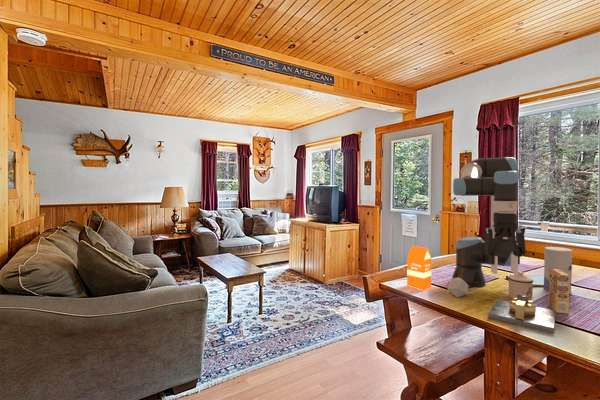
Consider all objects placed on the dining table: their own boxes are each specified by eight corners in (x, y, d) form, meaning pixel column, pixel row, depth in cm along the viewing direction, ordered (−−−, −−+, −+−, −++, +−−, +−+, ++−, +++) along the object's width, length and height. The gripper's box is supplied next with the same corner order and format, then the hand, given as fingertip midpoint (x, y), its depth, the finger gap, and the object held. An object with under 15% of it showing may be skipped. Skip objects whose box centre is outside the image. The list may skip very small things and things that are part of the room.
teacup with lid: (531, 303, 131) (532, 276, 130) (506, 298, 137) (506, 272, 136) (534, 296, 139) (535, 270, 139) (510, 291, 146) (511, 267, 145)
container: (576, 294, 141) (577, 250, 140) (551, 293, 143) (552, 250, 142) (562, 287, 151) (563, 246, 150) (539, 286, 153) (540, 246, 152)
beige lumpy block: (511, 305, 123) (511, 293, 123) (536, 310, 118) (536, 297, 117) (506, 315, 113) (506, 302, 113) (533, 321, 108) (533, 307, 108)
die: (456, 292, 147) (444, 276, 147) (474, 287, 142) (461, 270, 142) (454, 303, 141) (441, 287, 141) (472, 298, 135) (459, 281, 135)
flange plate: (488, 318, 116) (488, 297, 116) (497, 303, 131) (497, 284, 130) (553, 333, 104) (554, 310, 104) (555, 315, 118) (556, 294, 118)
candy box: (569, 314, 119) (570, 275, 119) (556, 312, 121) (556, 274, 120) (559, 306, 128) (560, 269, 127) (547, 304, 129) (548, 268, 129)
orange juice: (423, 290, 148) (424, 249, 147) (406, 286, 155) (406, 246, 154) (431, 287, 153) (431, 247, 152) (414, 283, 160) (414, 244, 159)
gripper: (484, 213, 112) (483, 275, 113) (539, 212, 112) (538, 275, 113) (473, 211, 120) (472, 270, 121) (524, 211, 119) (523, 270, 120)
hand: (504, 272), depth 117 cm, fingers open, 7 cm apart
